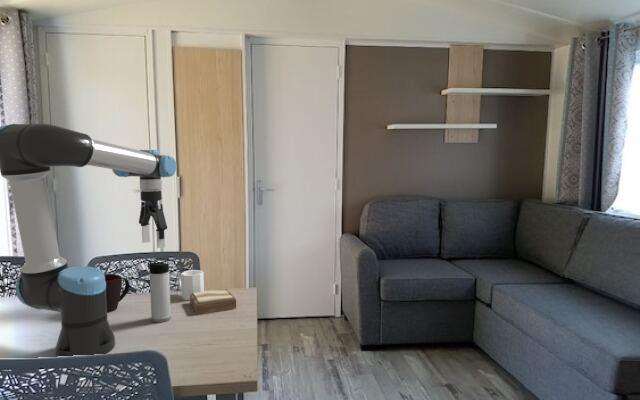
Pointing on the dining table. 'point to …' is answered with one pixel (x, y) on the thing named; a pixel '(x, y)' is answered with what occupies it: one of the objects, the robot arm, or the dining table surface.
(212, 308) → the pedestal
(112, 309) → the mug
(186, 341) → the dining table surface
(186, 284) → the mug
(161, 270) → the travel mug
